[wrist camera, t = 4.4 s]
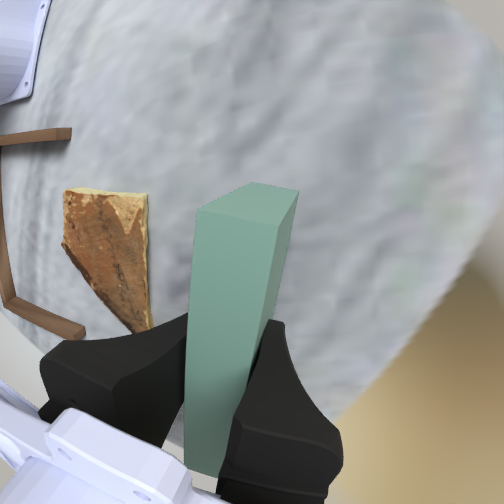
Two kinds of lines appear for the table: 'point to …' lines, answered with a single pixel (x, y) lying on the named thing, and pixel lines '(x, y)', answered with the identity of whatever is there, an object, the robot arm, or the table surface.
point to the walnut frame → (3, 281)
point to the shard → (111, 249)
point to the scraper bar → (230, 310)
